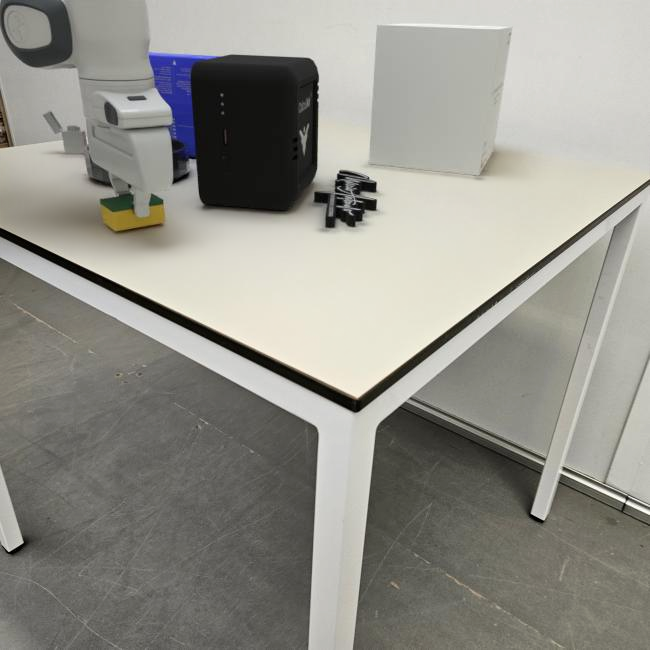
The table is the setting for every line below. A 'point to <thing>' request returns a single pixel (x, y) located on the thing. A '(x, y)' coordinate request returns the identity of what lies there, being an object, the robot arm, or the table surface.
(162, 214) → the sponge
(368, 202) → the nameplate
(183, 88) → the blue box
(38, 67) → the robot arm
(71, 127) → the lighter
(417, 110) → the cube
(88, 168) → the bowl
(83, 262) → the table surface
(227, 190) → the black computer case
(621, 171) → the table surface
